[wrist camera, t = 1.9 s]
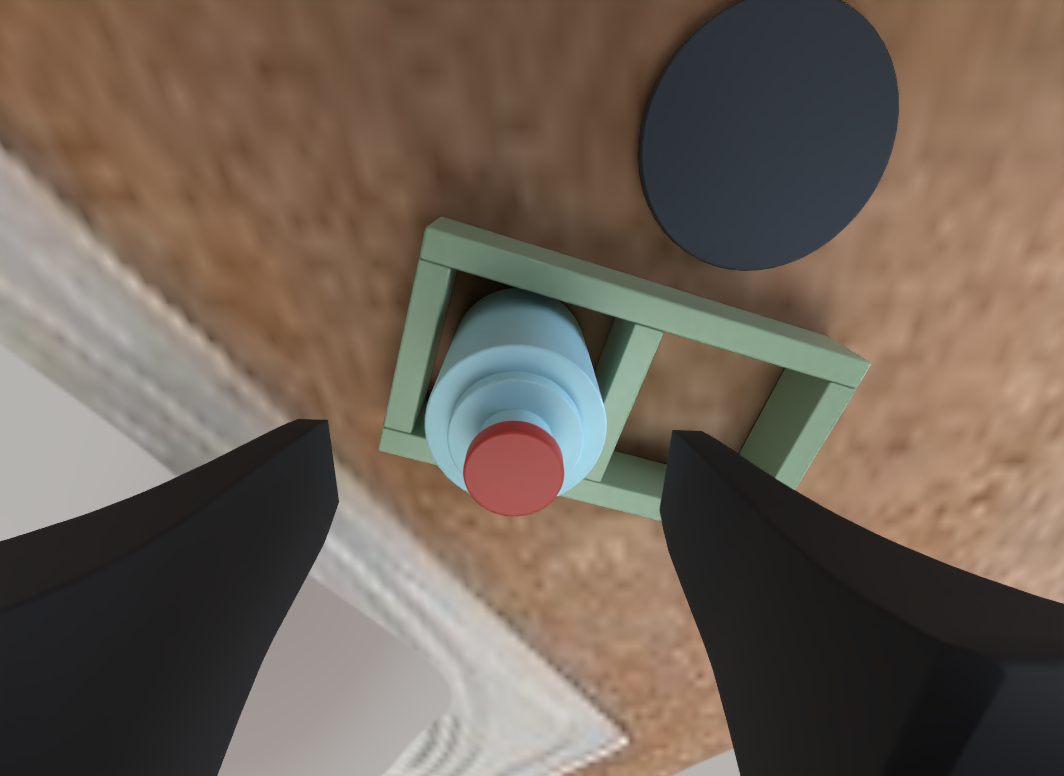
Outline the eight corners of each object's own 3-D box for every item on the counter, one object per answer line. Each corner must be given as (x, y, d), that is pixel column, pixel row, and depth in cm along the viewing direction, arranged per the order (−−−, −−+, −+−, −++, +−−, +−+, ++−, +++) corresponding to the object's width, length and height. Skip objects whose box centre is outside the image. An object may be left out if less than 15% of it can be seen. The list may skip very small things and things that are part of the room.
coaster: (939, 48, 16) (953, 44, 16) (809, 294, 19) (817, 298, 19) (699, -48, 15) (705, -56, 15) (603, 228, 18) (605, 231, 18)
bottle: (603, 309, 19) (652, 412, 12) (561, 424, 21) (579, 577, 14) (471, 270, 19) (433, 351, 11) (440, 392, 21) (388, 533, 13)
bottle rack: (440, 215, 18) (425, 225, 15) (829, 336, 20) (873, 363, 17) (395, 414, 21) (377, 451, 19) (735, 503, 23) (761, 547, 20)
